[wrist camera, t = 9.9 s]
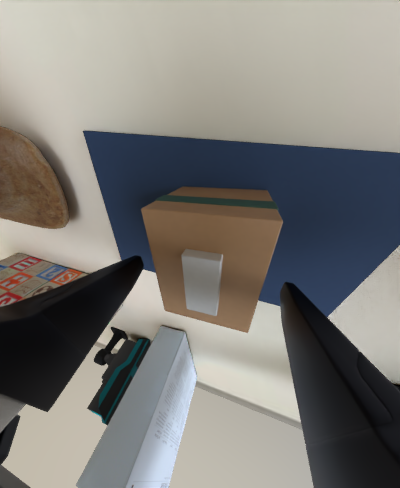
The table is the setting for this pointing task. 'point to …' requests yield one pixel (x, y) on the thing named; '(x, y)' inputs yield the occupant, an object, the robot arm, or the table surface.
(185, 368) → the skincare box
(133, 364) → the surveillance camera
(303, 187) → the desk mat
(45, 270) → the stack of blocks
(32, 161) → the stone cup
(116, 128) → the table surface
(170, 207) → the cardboard box
